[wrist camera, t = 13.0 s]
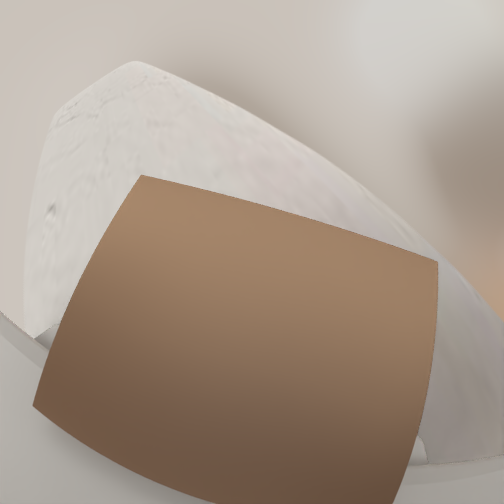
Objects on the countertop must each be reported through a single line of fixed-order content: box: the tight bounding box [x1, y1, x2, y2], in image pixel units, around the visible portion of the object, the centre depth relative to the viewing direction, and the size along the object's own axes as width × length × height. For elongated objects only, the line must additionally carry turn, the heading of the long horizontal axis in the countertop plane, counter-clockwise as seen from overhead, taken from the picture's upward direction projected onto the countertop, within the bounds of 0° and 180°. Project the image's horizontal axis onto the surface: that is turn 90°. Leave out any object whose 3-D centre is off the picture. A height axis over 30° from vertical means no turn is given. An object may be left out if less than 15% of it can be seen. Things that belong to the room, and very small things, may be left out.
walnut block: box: [32, 175, 438, 504], centre depth 10 cm, size 4×6×14 cm
